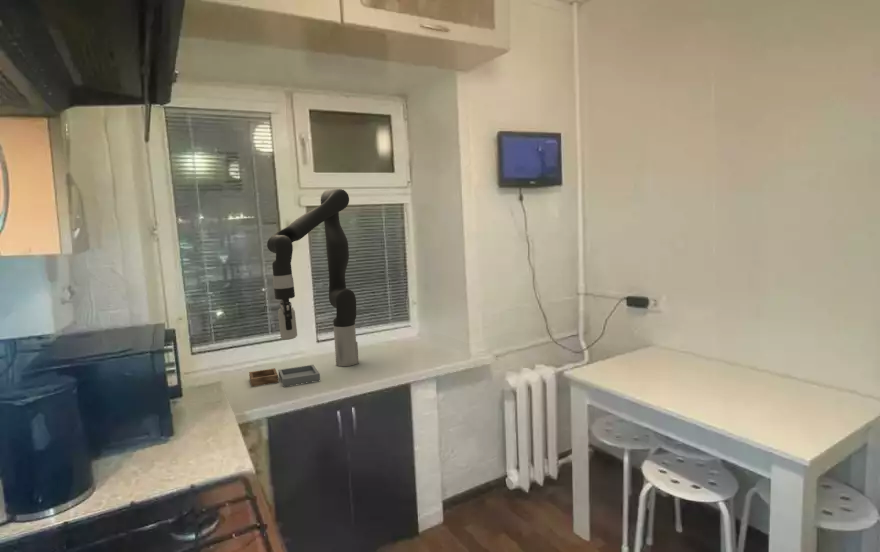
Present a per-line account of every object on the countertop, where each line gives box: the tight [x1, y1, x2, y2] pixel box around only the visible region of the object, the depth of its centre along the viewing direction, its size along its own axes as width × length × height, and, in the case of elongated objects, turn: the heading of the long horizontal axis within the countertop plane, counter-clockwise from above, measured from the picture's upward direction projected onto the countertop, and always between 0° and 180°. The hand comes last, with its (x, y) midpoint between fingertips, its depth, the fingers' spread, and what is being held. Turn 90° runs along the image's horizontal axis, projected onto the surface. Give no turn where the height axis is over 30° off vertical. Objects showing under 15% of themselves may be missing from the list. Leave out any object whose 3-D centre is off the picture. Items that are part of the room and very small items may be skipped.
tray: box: [278, 364, 321, 388], centre depth 205 cm, size 14×14×3 cm
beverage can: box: [277, 307, 298, 341], centre depth 203 cm, size 6×6×12 cm
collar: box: [248, 367, 279, 387], centre depth 204 cm, size 10×10×3 cm
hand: (288, 328), depth 203 cm, fingers closed on beverage can, 5 cm apart
